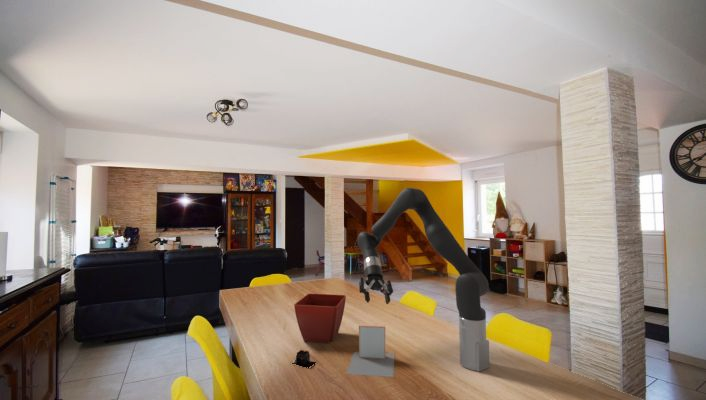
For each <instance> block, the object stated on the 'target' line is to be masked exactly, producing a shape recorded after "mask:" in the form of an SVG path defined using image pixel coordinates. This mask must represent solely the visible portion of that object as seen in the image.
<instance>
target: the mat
mask: <svg viewBox="0 0 706 400" xmlns="http://www.w3.org/2000/svg"><path fill="white" fill-rule="evenodd" d="M394 371H395V353H388V352H386V359H376V358H359V351H353V353H352V357H351V360H350V362H349V365H348V369H347V371H346V375H353V376H354V375H355V376H366V377H367V376H368V377H383V378H394V376H395V375H394V374H395V372H394Z"/></svg>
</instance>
